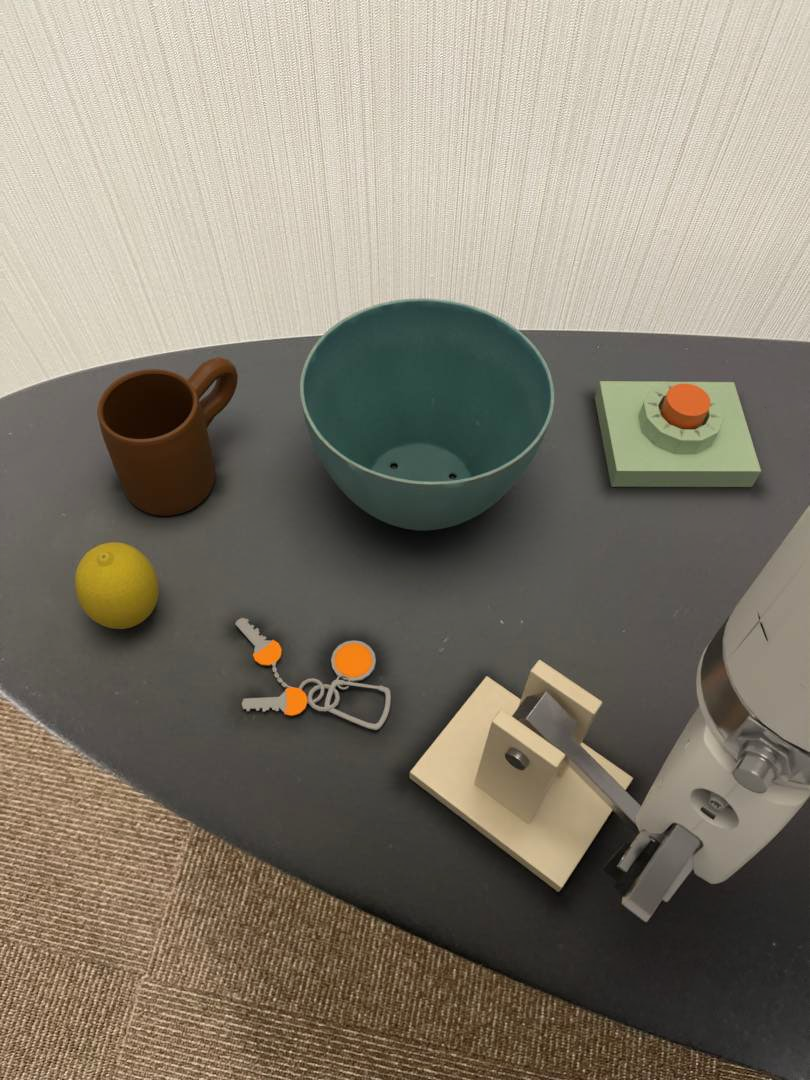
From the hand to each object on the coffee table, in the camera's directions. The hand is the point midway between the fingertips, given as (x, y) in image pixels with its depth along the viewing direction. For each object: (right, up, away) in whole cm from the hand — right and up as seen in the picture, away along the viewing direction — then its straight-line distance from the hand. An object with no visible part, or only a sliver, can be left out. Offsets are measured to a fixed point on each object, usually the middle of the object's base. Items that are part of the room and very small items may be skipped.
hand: (674, 812), depth 50 cm
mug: (-33, +21, +25) cm, 47 cm away
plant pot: (-14, +19, +25) cm, 35 cm away
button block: (+8, +24, +29) cm, 38 cm away
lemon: (-35, +9, +18) cm, 41 cm away
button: (+8, +26, +26) cm, 37 cm away
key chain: (-22, +5, +15) cm, 27 cm away
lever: (-4, +1, +4) cm, 6 cm away
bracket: (-7, -1, +11) cm, 13 cm away
